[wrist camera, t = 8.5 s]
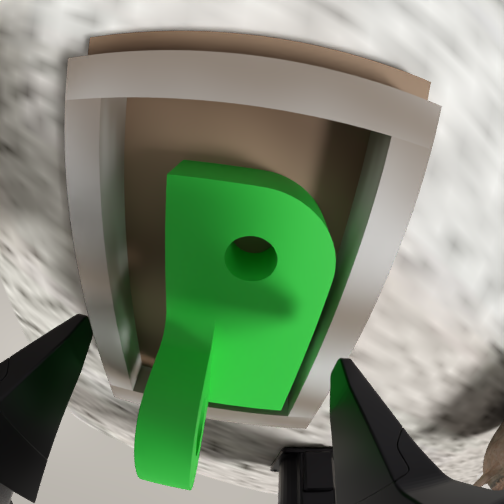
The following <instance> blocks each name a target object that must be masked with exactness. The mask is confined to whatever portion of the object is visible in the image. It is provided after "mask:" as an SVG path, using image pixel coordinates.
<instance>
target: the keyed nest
mask: <svg viewBox="0 0 504 504" xmlns="http://www.w3.org/2000/svg"><path fill="white" fill-rule="evenodd" d="M430 84H431V82H429V81H427V80H424V79H422V78H420V77H417V76H415V75H412V74H410V73H407V72H404V71H402V70H399V69H396V68H393V67H390V66H388V65H385V64H382V63H379V62H376V61H372V60H369V59H366V58H363V57H359V56H356V55H352V54H349V53H345V52H341V51H337V50H333V49H329V48H325V47H321V46H316V45H311V44H307V43H301V42H296V41H291V40H285V39H279V38H272V37H265V36H257V35H248V34H238V33H226V32H210V31H151V32H135V33H123V34H113V35H105V36H98V37H91V38H90V42H89V49H88V55H86V56H79V57H72V58H68V65H67V77H66V92H65V125H64V133H65V167H66V182H67V194H68V204H69V213H70V222H71V229H72V236H73V243H74V249H75V255H76V260H77V266H78V271H79V276H80V281H81V286H82V290H83V295H84V299H85V303H86V307H87V311H88V315H89V319H90V323H91V327H92V330H93V334H94V337H95V341H96V344H97V347H98V351H99V354H100V357H101V360H102V363H103V366H104V369H105V372H106V375H107V378H108V381H109V384H110V386H111V389H112V392H113V394H114V397H115V398H119V399H122V400H126V401H129V402H133V403H137V404H141V401H142V397H143V394H144V390H145V387H146V384H147V382H148V379H149V376H150V373H151V370H152V367H153V364H154V362H155V359H156V356H157V353H158V351H159V348H160V345H161V342H162V338H163V334H164V328H165V322H166V277H165V216H166V185H167V174H168V173H169V172H170V171H171V170H172V169H173V168H175V167H176V166H177V165H178V164H179V163H180V162H181V161H183V160H191V161H200V162H209V163H217V164H224V165H232V166H239V167H246V168H253V169H259V170H265V171H270V172H274V173H277V174H280V175H283V176H285V177H287V178H289V179H291V180H293V181H294V182H296V183H297V184H299V185H300V186H301V187H303V188H304V189H305V190H306V191H307V192H308V193H309V194H310V195H311V196H312V197H313V199H314V200H315V201H316V203H317V204H318V206H319V208H320V210H321V212H322V214H323V217H324V220H325V222H326V225H327V228H328V230H329V233H330V236H331V239H332V241H333V244H334V249H335V256H336V268H335V274H334V278H333V281H332V284H331V287H330V290H329V293H328V296H327V298H326V301H325V304H324V307H323V309H322V312H321V315H320V318H319V320H318V323H317V325H316V328H315V331H314V333H313V336H312V338H311V341H310V343H309V346H308V349H307V351H306V353H305V356H304V358H303V361H302V363H301V366H300V368H299V370H298V373H297V375H296V378H295V380H294V382H293V385H292V387H291V389H290V391H289V394H288V396H287V398H286V400H285V403H284V405H283V407H282V409H281V411H279V410H268V409H258V408H249V407H241V406H233V405H226V404H219V403H213V402H208V407H207V413H206V418H207V419H213V420H219V421H226V422H233V423H241V424H250V425H260V426H271V427H284V428H303V429H306V428H307V427H308V425H309V423H310V422H311V420H312V419H313V417H314V416H315V414H316V413H317V411H318V409H319V408H320V406H321V405H322V403H323V401H324V400H325V398H326V396H327V395H328V393H329V391H330V376H331V372H332V370H333V368H334V366H335V364H336V362H337V360H338V359H339V358H349V356H350V354H351V352H352V350H353V348H354V346H355V345H356V343H357V341H358V339H359V337H360V335H361V333H362V331H363V329H364V327H365V325H366V323H367V321H368V319H369V317H370V314H371V312H372V310H373V308H374V306H375V304H376V302H377V300H378V297H379V295H380V293H381V291H382V288H383V286H384V284H385V282H386V279H387V277H388V275H389V272H390V270H391V267H392V265H393V263H394V260H395V258H396V255H397V253H398V250H399V247H400V245H401V242H402V240H403V237H404V234H405V232H406V229H407V226H408V223H409V221H410V218H411V215H412V212H413V209H414V206H415V203H416V200H417V197H418V194H419V191H420V188H421V184H422V181H423V178H424V174H425V171H426V168H427V164H428V160H429V157H430V153H431V149H432V146H433V142H434V138H435V134H436V129H437V125H438V121H439V116H440V112H441V107H442V106H440V105H437V104H435V103H432V102H430V101H428V94H429V89H430ZM234 243H235V244H236V246H237V247H239V248H240V249H241V250H243V251H245V252H249V253H260V252H264V251H266V250H267V249H269V248H270V247H271V246H272V245H271V244H270V243H269V242H267V241H266V240H264V239H262V238H259V237H255V236H245V237H241V238H238V239H236V240H234Z"/></svg>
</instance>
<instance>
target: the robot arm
mask: <svg viewBox="0 0 504 504" xmlns="http://www.w3.org/2000/svg"><path fill="white" fill-rule="evenodd" d="M92 336H93V332H92V328H91V324H90V320H89V318H88V316H86V315H82V314H77V315H75V316H73V317H72V318H70V319H68V320H67V321H65V322H64V323H62V324H60V325H59V326H57V327H56V328H54V329H53V330H51V331H49V332H48V333H46V334H45V335H43V336H41V337H40V338H38V339H37V340H35V341H34V342H32V343H31V344H29V345H27V346H26V347H24V348H23V349H21V350H20V351H18V352H17V353H15V354H14V355H12V356H11V357H10V358H7V359H6V360H5V361H3V362H1V363H0V504H13V503H12V501H11V497H12V494H13V492H15V493H17V494H19V495H20V496H22V497H24V498H26V499H28V500H30V501H31V502H33V503H35V500H36V497H37V493H38V490H39V486H40V483H41V479H42V476H43V473H44V470H45V466H46V463H47V459H48V457H49V454H50V451H51V448H52V445H53V442H54V439H55V436H56V433H57V430H58V428H59V425H60V422H61V420H62V417H63V415H64V412H65V409H66V407H67V404H68V402H69V399H70V397H71V394H72V392H73V390H74V387H75V385H76V382H77V380H78V378H79V375H80V373H81V370H82V367H83V364H84V361H85V358H86V355H87V352H88V349H89V346H90V343H91V340H92ZM330 422H331V433H332V445H333V449H303V448H284V449H282V450H281V452H280V453H279V455H278V456H277V458H276V460H275V461H274V463H273V464H272V466H271V471H274V472H279V492H278V504H504V489H503V490H490V489H486V488H482V487H478V486H474V485H470V484H467V483H463V482H459V481H456V480H453V479H451V478H450V477H448V476H447V475H445V474H444V473H443V472H442V471H441V470H440V469H439V468H438V467H437V466H436V465H435V464H434V463H433V462H432V461H431V460H430V459H429V457H428V456H427V455H426V454H425V453H424V452H423V451H422V450H421V449H420V448H419V447H418V445H417V444H416V443H415V442H414V441H413V439H412V438H411V437H410V436H409V434H408V433H407V432H406V430H405V429H404V428H402V425H401V424H400V423H399V421H398V420H397V419H396V417H395V416H394V415H393V413H392V412H391V411H390V410H389V408H388V407H387V406H386V404H385V403H384V402H383V400H382V399H381V398H380V396H379V395H378V394H377V393H376V391H375V390H374V389H373V387H372V386H371V385H370V383H369V382H368V381H367V379H366V378H365V377H364V376H363V374H362V373H361V372H360V370H359V369H358V368H357V367H356V365H355V364H354V363H353V361H352V360H351V359H349V358H339V359H338V360H337V362H336V364H335V366H334V368H333V370H332V372H331V376H330Z"/></svg>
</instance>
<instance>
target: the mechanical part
mask: <svg viewBox="0 0 504 504" xmlns="http://www.w3.org/2000/svg"><path fill="white" fill-rule="evenodd" d="M245 236H255V237H259V238H262V239H264V240H266V241H267V242H269V243H270V244H271V245H272V246H271V247H270V248H269V249H267V250H266V251H264V252H260V253H249V252H245V251H243V250H241V249H240V248H239V247H237V246H236V244H235V243H234V240H236V239H238V238H241V237H245ZM335 268H336V256H335V249H334V244H333V241H332V239H331V236H330V233H329V230H328V228H327V225H326V222H325V220H324V217H323V214H322V212H321V210H320V208H319V206H318V204H317V203H316V201H315V200H314V199H313V197H312V196H311V195H310V194H309V193H308V192H307V191H306V190H305V189H304V188H303V187H301V186H300V185H299V184H297V183H296V182H294V181H293V180H291V179H289V178H287V177H285V176H283V175H280V174H277V173H274V172H270V171H265V170H259V169H253V168H246V167H239V166H232V165H224V164H217V163H209V162H200V161H191V160H183V161H181V162H180V163H179V164H178V165H177V166H176V167H175V168H173V169H172V170H171V171H170V172H169V173H168V174H167V185H166V216H165V277H166V322H165V328H164V334H163V338H162V342H161V345H160V348H159V351H158V353H157V356H156V359H155V362H154V364H153V367H152V370H151V373H150V376H149V379H148V382H147V384H146V387H145V390H144V394H143V397H142V401H141V405H140V409H139V414H138V419H137V425H136V433H135V444H134V457H135V458H134V459H135V468H136V472H137V475H138V477H139V478H140V479H143V480H147V481H150V482H154V483H158V484H162V485H167V486H171V487H176V488H181V489H186V490H191V489H192V487H193V483H194V479H195V475H196V470H197V465H198V459H199V453H200V448H201V442H202V436H203V430H204V424H205V419H206V413H207V407H208V402H213V403H219V404H226V405H233V406H241V407H249V408H258V409H268V410H279V411H281V409H282V407H283V405H284V403H285V400H286V398H287V396H288V394H289V391H290V389H291V387H292V385H293V382H294V380H295V378H296V375H297V373H298V370H299V368H300V366H301V363H302V361H303V358H304V356H305V353H306V351H307V349H308V346H309V343H310V341H311V338H312V336H313V333H314V331H315V328H316V325H317V323H318V320H319V318H320V315H321V312H322V309H323V307H324V304H325V301H326V298H327V296H328V293H329V290H330V287H331V284H332V281H333V278H334V274H335Z"/></svg>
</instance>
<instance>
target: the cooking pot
mask: <svg viewBox="0 0 504 504" xmlns="http://www.w3.org/2000/svg"><path fill="white" fill-rule="evenodd" d="M484 484H488V485H489V486H490V488H491V489H492V490H503V489H504V420H503V422H502V423H501V425H500V426H499V428H498V430H497V431H496V433H495V434H494V436H493V437H492V439H491V441H490V443H489V445H488V447H487V450H486V453H485V456H484V462H483V475H482V476H481V477H480V479H478V480H477V481H476V482H475V484H473V485H474V486H478V487H481V486H483V485H484Z"/></svg>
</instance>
